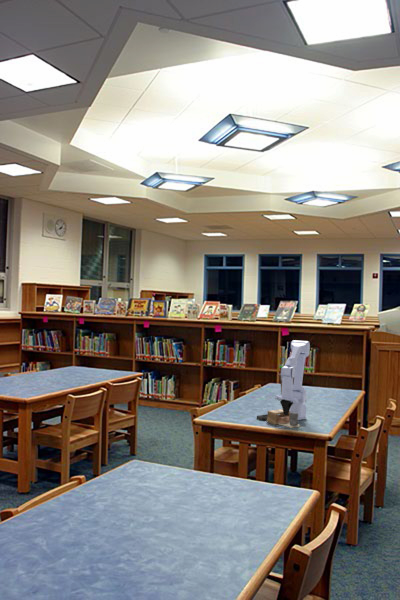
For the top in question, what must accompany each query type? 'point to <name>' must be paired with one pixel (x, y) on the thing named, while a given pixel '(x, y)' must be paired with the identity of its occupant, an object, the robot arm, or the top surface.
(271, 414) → the tunnel
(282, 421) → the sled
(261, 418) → the tray
